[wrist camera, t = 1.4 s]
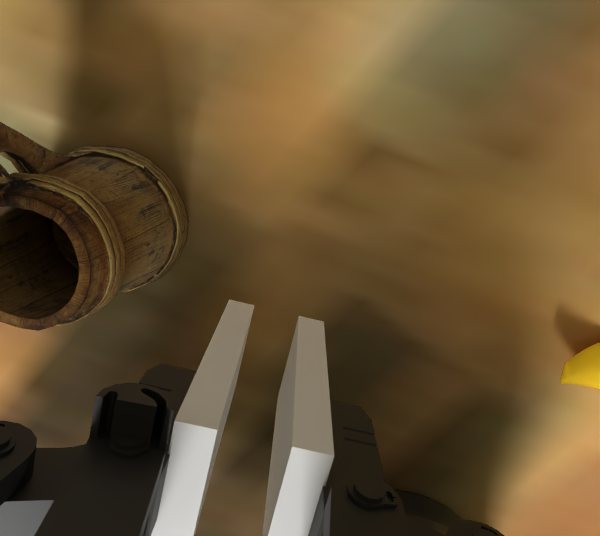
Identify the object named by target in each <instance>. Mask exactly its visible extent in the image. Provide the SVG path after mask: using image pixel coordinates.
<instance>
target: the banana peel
mask: <svg viewBox="0 0 600 536" xmlns="http://www.w3.org/2000/svg"><path fill="white" fill-rule="evenodd" d="M560 383H566V384H576V385H583V386H588V387H592V388H597V389H600V342H599V343H597V344H594V345H592V346H590V347H588V348H586V349H584V350H583V351H581V352H580V353H578V354H576V355H575V356H574V357H572V358H571V359H570V360H569V361H567V362H566V363H565V364H564V368H563V371H562V375H561V378H560Z"/></svg>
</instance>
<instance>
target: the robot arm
mask: <svg viewBox="0 0 600 536" xmlns="http://www.w3.org/2000/svg"><path fill="white" fill-rule="evenodd" d="M254 306H255V305H251V304H247V303H242V302H238V301H234V300H230V299H229V301H228V303H227V306H226V308H225V310H224V312H223V314H222V317H221V319H220V321H219V323H218V325H217V328H216V330H215V332H214V334H213V337H212V339H211V341H210V343H209V345H208V348H207V350H206V352H205V354H204V356H203V359H202V361H201V363H200V365H199V367H198V370H197V371H193V370H188V369H184V368H179V367H175V366H171V365H166V364H162V363H161V364H160V365H158V366H156V367H154V368H152V369H150V370H148V371H146V373H145V374H144V376H143V377H142V379H141V381H140V382H139V384H138V383H123V384H115V385H113V386H110V387H107V388H105V389H103V390H102V391H101V392H100V393H99V394H97V395H96V399H95V406H94V412H93V419H92V425H91V431H90V438H89V439H88V441H87V443H86V444H85V445H80V446H76V447H67V448H36V442H37V438H36V436H35V435H34V433H33V432H32V431H31V430H30V429H28V428H27V427H25V426H23V425H21V424H18V423H13V422H8V421H0V536H194V535H195V532H196V528H197V525H198V521H199V517H200V514H201V510H202V507H203V503H204V499H205V496H206V492H207V489H208V485H209V481H210V478H211V474H212V471H213V467H214V463H215V460H216V456H217V452H218V449H219V445H220V442H221V438H222V434H223V431H224V427H225V424H226V420H227V416H228V413H229V409H230V406H231V402H232V398H233V395H234V391H235V387H236V383H237V379H238V375H239V370H240V366H241V362H242V357H243V353H244V349H245V345H246V340H247V336H248V332H249V327H250V323H251V319H252V315H253V310H254ZM376 446H377V443H376V439H375V436H374V429H373V425H372V420H371V419H370V418H369V417H368V415H367V414H366V413H365V412H364V410H363V409H362V408H361V407H358V406H354V405H349V404H345V403H341V402H336V401H332V400H330V394H329V382H328V369H327V356H326V343H325V330H324V321H319V320H315V319H311V318H306V317H302V316H299V317H298V321H297V324H296V328H295V332H294V336H293V340H292V344H291V348H290V352H289V355H288V359H287V363H286V367H285V371H284V375H283V379H282V383H281V387H280V390H279V394H278V400H277V409H276V418H275V426H274V435H273V444H272V453H271V462H270V471H269V480H268V489H267V498H266V507H265V516H264V525H263V534H262V536H504V535H503V534H501V533H500V532H499V531H497V530H496V529H494V528H492V527H489V526H488V525H485V524H483V523H480V522H476V521H472V520H461V519H460V518H459V517H458V516H457V515H456V514H455V513H453V512H452V511H451V510H449V509H448V508H446V507H445V506H443V505H441V504H439V503H437V502H435V501H433V500H431V499H428V498H426V497H423V496H420V495H416V494H412V493H407V492H400V491H395V490H394V489H393V488H392V487H391V486H390V485H388V484H387V483H385V481H384V476H383V471H382V467H381V462H380V457H379V453H378V448H377V447H376Z"/></svg>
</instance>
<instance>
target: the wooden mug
mask: <svg viewBox="0 0 600 536" xmlns="http://www.w3.org/2000/svg"><path fill="white" fill-rule="evenodd" d="M0 155H2V156H3V157H5V158H6V159H8V160H10V161H11V162H12V164H13V165H14V166H15V168H16V169H17V170H18V172H19V173H12V174H10V175H9V174H8V172H7V171H6V170H5V168H4V167H3V166H2V165H1V164H0V322H3V323H6V324H9V325H12V326H15V327H19V328H24V329H31V330H42V329H45V328H49V327H53V326H58V325H65V324H71V323H74V322H77V321H79V320H81V319H83V318H85V317H87V316H89V315H92V314H94V313H96V312H97V311H99V310H100V309H101V308H102V307H104V306H105V305H106V304H107V303H109V302H110V301H111V300H112V299H113V297H114V296H115V295H117V294H119V293H122V292H127V291H132V290H134V289H137V288H139V287H141V286H144V285H146V284H149V283H151V282H153V281H156V280H157V279H158V278H160V277H161V276H162V275H164V274H165V273H166V272H168V271H169V270H170V269H171V267H172V266H173V265H174V264H175V262H176V261H177V260H178V259H179V257H180V255H181V253H182V250H183V247H184V245H185V242H186V239H187V229H188V219H187V215H186V210H185V206H184V203H183V201H182V199H181V197H180V195H179V193H178V191H177V189H176V187H175V186H174V184H173V183H172V182H171V180H170V179H169V178H168V176H167V175H166V174H165V173H164V172H163V171H162V170H161V169H160V168H159V167H158V166H156V165H155V164H154V163H153V162H152V161H151V160H150V159H148V158H146V157H144V156H142V155H140V154H138V153H136V152H134V151H132V150H130V149H125V148H118V147H111V146H85V147H81V148H77V149H74V150H73V151H71V152H70V153H68V154H67V155H63V154H57V153H54V152H52V151H50V150H48V149H46V148H44V147H43V146H41V145H39V144H37V143H36V142H34V141H33V140H31V139H29V138H28V137H26V136H24V135H23V134H21V133H19V132H18V131H16V130H14V129H12V128H10V127H8V126H7V125H5V124H3V123H1V122H0Z"/></svg>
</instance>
